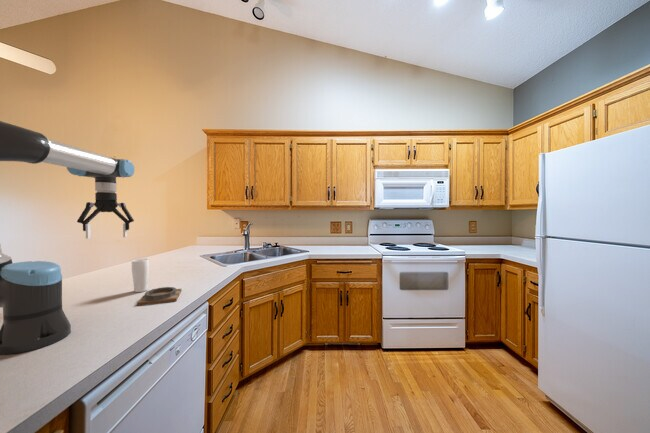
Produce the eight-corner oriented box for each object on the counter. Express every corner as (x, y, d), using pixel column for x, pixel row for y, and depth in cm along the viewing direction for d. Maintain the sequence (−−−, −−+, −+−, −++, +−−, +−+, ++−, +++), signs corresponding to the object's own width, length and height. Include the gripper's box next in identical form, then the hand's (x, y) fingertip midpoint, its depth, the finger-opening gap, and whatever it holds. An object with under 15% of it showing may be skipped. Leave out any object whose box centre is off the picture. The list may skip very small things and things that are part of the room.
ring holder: (176, 301, 108) (176, 294, 108) (137, 305, 103) (137, 298, 103) (181, 291, 121) (181, 284, 121) (146, 294, 116) (146, 288, 116)
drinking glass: (134, 289, 123) (133, 259, 122) (150, 287, 126) (150, 258, 125) (130, 294, 117) (129, 262, 116) (147, 292, 120) (147, 260, 119)
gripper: (140, 193, 126) (141, 235, 127) (74, 191, 116) (75, 237, 116) (136, 192, 119) (137, 237, 120) (66, 190, 109) (67, 239, 110)
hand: (107, 237), depth 118 cm, fingers open, 13 cm apart
